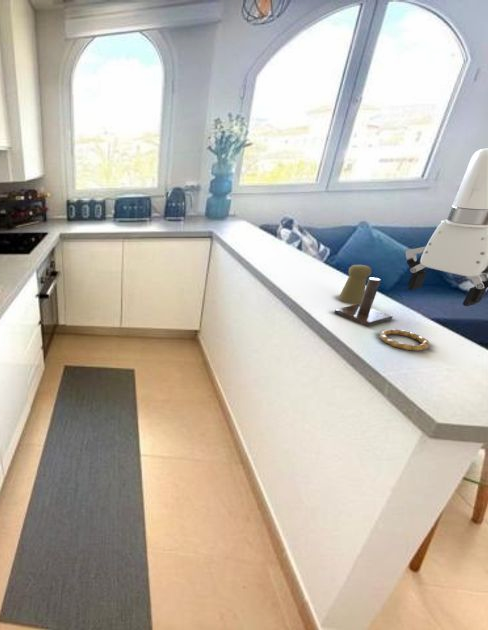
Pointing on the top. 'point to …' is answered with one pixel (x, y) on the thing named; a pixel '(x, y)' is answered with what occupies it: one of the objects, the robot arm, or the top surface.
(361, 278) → the cork
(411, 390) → the top surface
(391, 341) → the ring
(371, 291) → the rack
